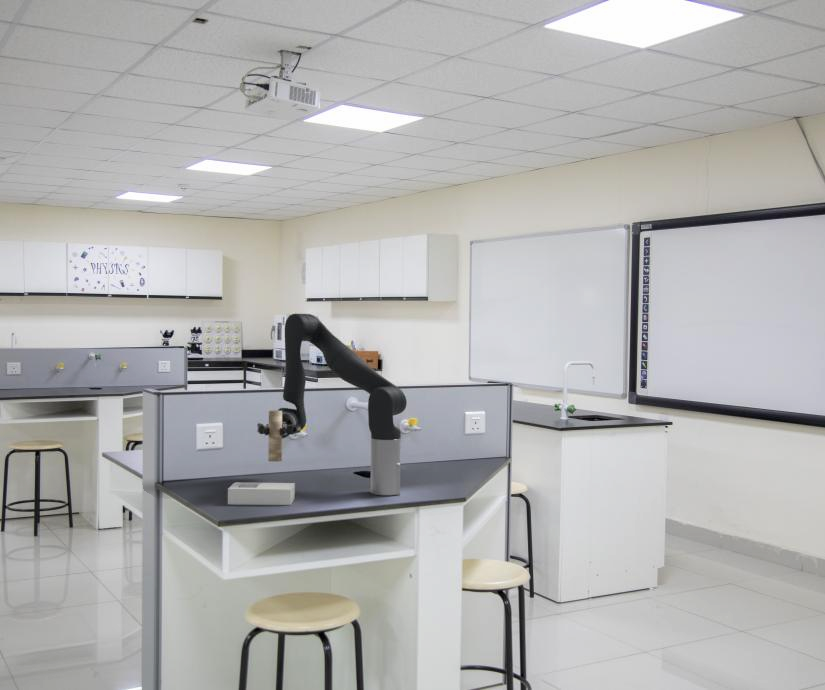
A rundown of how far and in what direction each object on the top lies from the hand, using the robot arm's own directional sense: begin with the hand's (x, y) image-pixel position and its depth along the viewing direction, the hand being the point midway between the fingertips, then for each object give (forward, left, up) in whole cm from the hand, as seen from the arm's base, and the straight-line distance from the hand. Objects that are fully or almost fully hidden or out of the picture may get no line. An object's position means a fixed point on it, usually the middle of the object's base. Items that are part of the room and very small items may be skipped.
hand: (273, 432), depth 252 cm
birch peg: (0, -3, -9) cm, 9 cm away
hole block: (+3, +4, -20) cm, 21 cm away
